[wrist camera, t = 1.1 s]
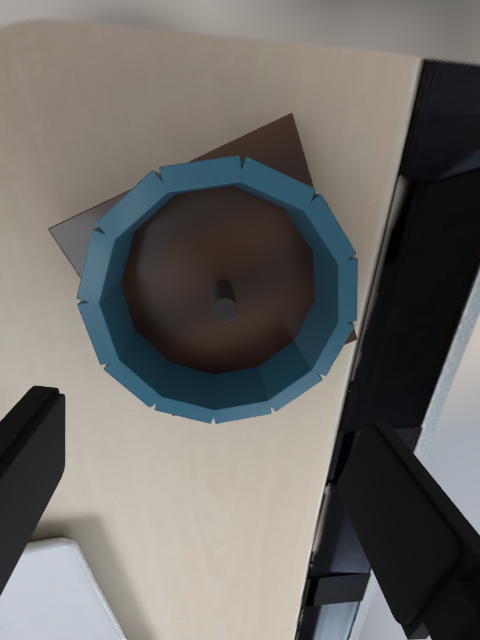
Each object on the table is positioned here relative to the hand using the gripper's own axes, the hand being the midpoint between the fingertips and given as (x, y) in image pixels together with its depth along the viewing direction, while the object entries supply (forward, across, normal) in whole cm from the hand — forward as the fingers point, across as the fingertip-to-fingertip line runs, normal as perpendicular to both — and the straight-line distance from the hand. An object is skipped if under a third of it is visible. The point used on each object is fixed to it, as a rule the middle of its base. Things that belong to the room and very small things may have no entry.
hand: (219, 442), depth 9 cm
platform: (+16, -1, -1) cm, 16 cm away
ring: (+14, -1, -1) cm, 14 cm away
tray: (+16, +12, +45) cm, 49 cm away
